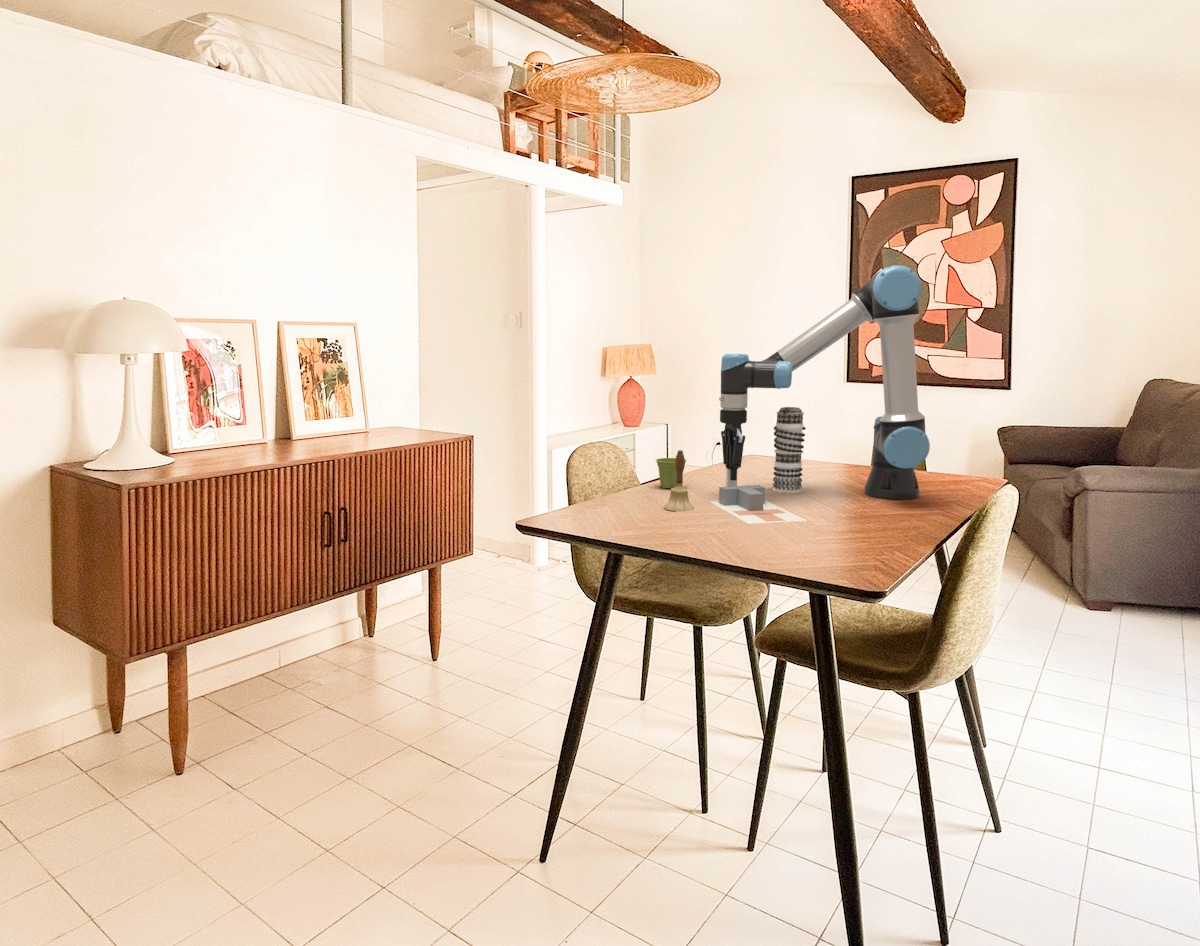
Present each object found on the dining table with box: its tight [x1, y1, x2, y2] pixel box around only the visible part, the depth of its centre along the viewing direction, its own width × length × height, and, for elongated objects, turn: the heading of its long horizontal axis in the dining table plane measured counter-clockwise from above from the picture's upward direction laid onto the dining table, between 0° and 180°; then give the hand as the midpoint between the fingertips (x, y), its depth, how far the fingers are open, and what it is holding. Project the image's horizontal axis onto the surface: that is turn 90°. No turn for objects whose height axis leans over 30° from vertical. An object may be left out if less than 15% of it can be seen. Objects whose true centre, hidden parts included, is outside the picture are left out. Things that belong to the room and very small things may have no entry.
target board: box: [710, 499, 808, 525], centre depth 222 cm, size 16×28×1 cm, turn 12°
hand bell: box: [663, 449, 695, 512], centre depth 225 cm, size 8×8×16 cm
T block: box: [718, 484, 766, 511], centre depth 228 cm, size 12×12×4 cm
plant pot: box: [655, 457, 687, 489], centre depth 256 cm, size 9×9×9 cm
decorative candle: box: [772, 406, 807, 494], centre depth 250 cm, size 9×9×25 cm
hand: (731, 490), depth 239 cm, fingers closed
